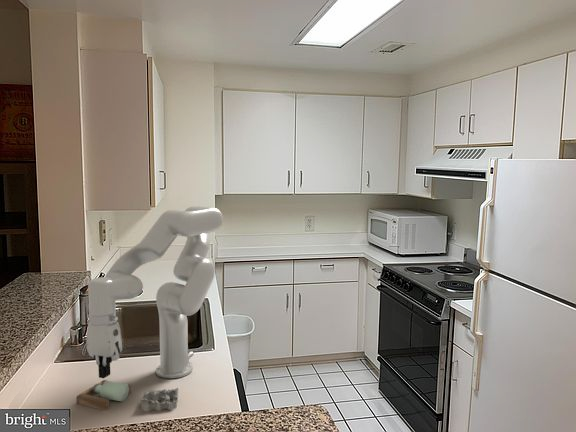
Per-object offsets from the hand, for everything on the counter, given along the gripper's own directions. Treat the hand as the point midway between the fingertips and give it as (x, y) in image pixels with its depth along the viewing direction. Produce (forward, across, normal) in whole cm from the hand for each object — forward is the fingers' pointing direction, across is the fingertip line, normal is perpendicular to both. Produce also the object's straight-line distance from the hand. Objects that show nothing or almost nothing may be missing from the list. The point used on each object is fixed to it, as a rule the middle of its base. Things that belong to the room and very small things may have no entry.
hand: (104, 376), depth 139 cm
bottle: (+5, -6, -1) cm, 8 cm away
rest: (+7, 0, 0) cm, 7 cm away
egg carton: (+8, -18, -3) cm, 20 cm away
